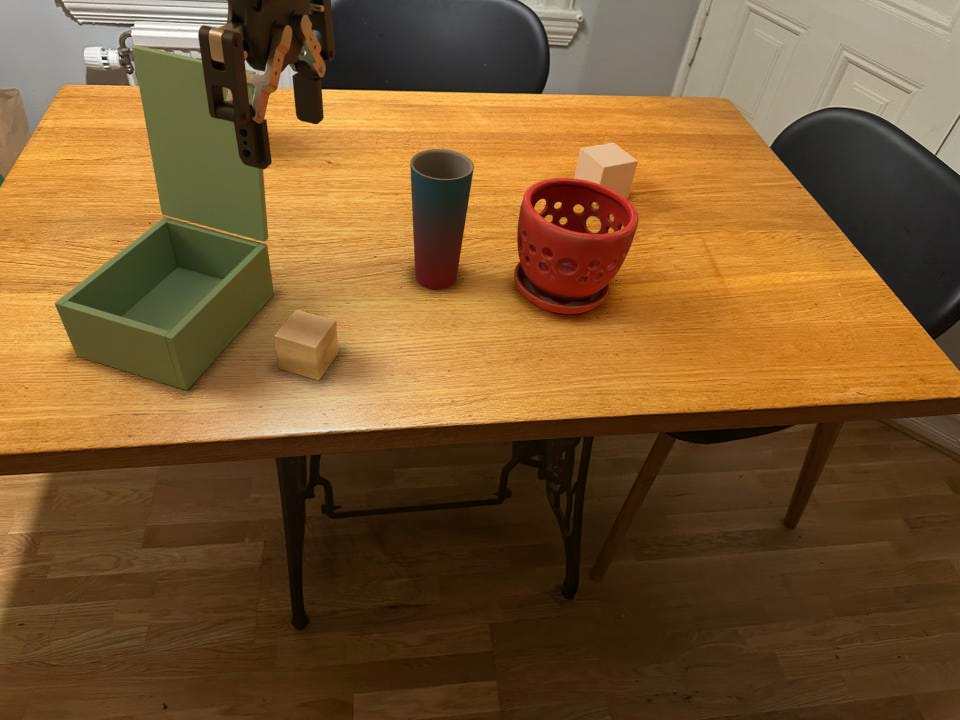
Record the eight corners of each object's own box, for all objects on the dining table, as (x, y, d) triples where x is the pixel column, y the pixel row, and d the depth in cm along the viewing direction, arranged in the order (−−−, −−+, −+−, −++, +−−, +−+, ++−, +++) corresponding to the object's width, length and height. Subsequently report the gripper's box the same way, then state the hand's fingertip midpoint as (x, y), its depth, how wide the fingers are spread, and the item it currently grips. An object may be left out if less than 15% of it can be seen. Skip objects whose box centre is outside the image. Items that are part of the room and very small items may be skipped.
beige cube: (604, 179, 107) (613, 142, 102) (628, 198, 103) (638, 160, 99) (572, 185, 104) (580, 147, 100) (594, 205, 100) (604, 167, 96)
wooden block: (318, 380, 70) (315, 348, 67) (278, 368, 71) (273, 335, 68) (338, 352, 73) (336, 320, 70) (300, 341, 74) (296, 308, 71)
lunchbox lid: (251, 73, 64) (279, 61, 67) (131, 46, 66) (165, 36, 69) (264, 242, 74) (288, 223, 78) (161, 214, 76) (189, 197, 80)
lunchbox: (187, 390, 68) (172, 338, 63) (76, 356, 70) (53, 303, 65) (274, 294, 79) (267, 244, 75) (177, 267, 81) (164, 216, 77)
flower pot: (588, 339, 79) (611, 251, 70) (489, 295, 83) (500, 207, 75) (632, 284, 87) (657, 199, 79) (540, 246, 91) (555, 162, 83)
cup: (415, 297, 81) (419, 182, 71) (401, 264, 86) (403, 151, 76) (470, 290, 83) (482, 177, 73) (454, 257, 88) (463, 146, 78)
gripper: (263, -121, 50) (286, 99, 61) (135, -85, 40) (190, 171, 51) (359, -104, 49) (365, 117, 60) (252, -63, 39) (282, 194, 50)
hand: (284, 142), depth 56 cm, fingers open, 8 cm apart
